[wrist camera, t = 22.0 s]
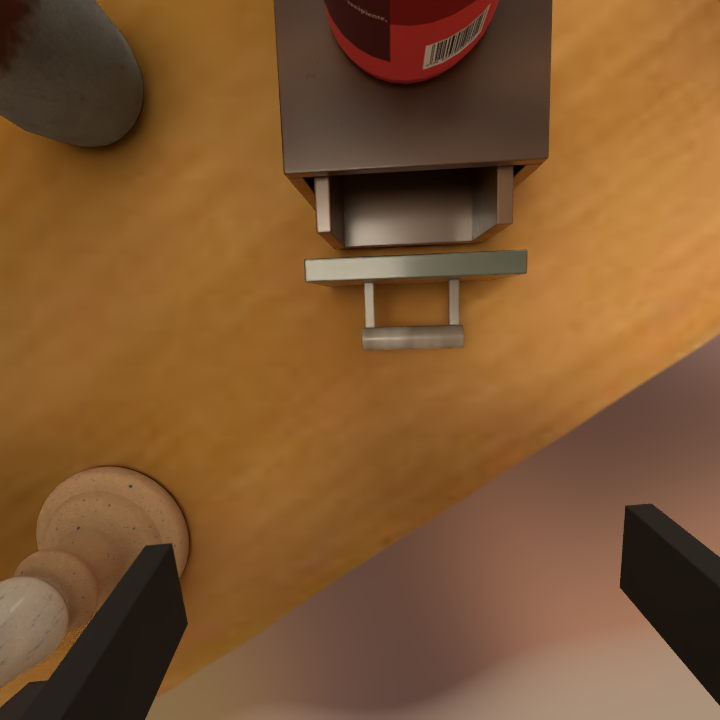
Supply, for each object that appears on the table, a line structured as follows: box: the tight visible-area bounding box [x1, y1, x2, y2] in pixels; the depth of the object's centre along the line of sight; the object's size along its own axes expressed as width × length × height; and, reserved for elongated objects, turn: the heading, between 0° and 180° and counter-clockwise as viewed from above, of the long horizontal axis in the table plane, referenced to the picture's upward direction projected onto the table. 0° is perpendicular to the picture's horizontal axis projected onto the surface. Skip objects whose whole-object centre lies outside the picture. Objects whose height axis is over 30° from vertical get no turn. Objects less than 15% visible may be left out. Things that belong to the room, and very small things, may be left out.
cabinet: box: [274, 0, 552, 211], centre depth 24 cm, size 15×13×10 cm
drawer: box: [304, 165, 527, 351], centre depth 25 cm, size 18×11×8 cm, turn 2°
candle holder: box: [0, 466, 189, 689], centre depth 25 cm, size 12×12×20 cm
